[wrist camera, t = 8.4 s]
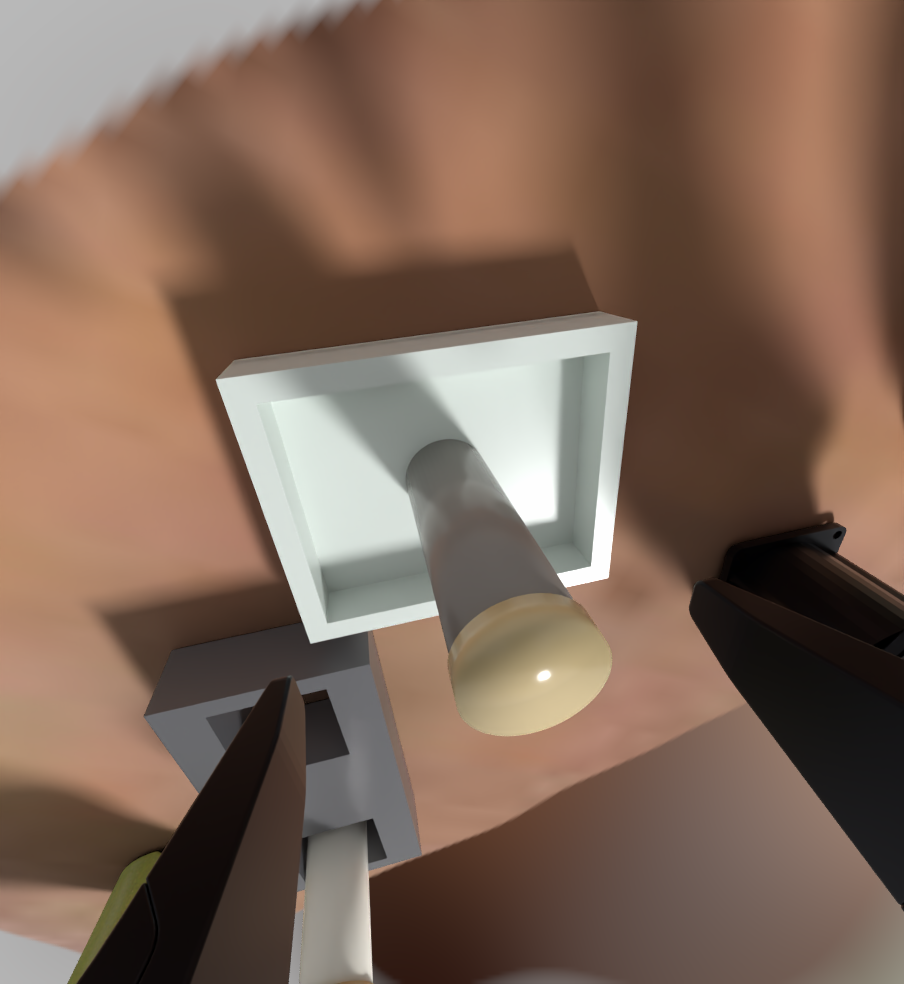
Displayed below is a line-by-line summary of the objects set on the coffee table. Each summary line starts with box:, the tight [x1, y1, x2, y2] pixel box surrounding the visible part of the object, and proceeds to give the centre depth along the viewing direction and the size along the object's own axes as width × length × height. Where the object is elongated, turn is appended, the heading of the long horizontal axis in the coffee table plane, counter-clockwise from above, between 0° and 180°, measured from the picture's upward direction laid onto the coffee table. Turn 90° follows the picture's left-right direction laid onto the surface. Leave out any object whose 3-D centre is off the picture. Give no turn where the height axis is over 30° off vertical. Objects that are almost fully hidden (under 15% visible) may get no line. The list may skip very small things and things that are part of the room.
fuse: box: [299, 820, 373, 984], centre depth 22 cm, size 3×3×9 cm
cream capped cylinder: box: [406, 439, 612, 736], centre depth 13 cm, size 3×3×9 cm
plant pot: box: [67, 851, 161, 984], centre depth 22 cm, size 9×9×9 cm
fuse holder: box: [144, 622, 422, 892], centre depth 22 cm, size 8×16×3 cm, turn 5°
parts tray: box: [216, 311, 638, 644], centre depth 16 cm, size 12×10×2 cm
